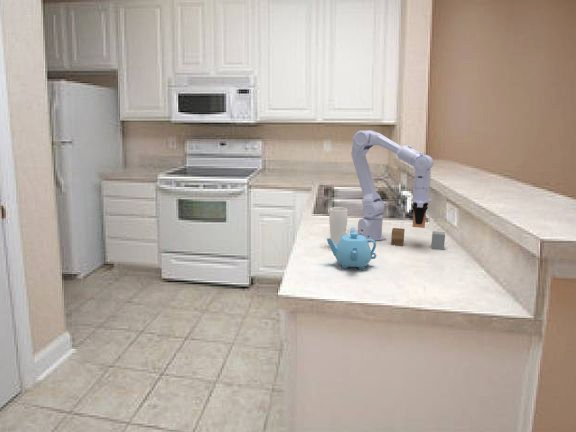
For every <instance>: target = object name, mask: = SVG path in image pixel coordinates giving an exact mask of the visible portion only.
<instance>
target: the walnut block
mask: <svg viewBox="0 0 576 432" xmlns="http://www.w3.org/2000/svg"><path fill="white" fill-rule="evenodd" d="M390 238H391V240H390V242H391V243H390V246H394V245H395V246H396V247H403V246H404V243H405V242H404V241H405V228H401V227H400V228H399V227H398V228H397V227H392V229H391V237H390Z"/></svg>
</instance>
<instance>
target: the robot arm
mask: <svg viewBox="0 0 576 432" xmlns="http://www.w3.org/2000/svg"><path fill="white" fill-rule="evenodd" d="M351 139H352V141H351V142H352V147H351V152H350V153H351V155H350V156H351V158H352V162H353V166H354V168H355V171H356V172H355V173H356V175H357V179H358V181H359V185H360V189H361V192H362V195H363V197H362V200H361V201H362V202H361V203H362V214H363V215H364V217H363V218H360V219H359V220H358V223H357V233H358V235H362V236H364V237H365V238H366V239H372V240H374V241H375V242H377V241H383V240H384V241H385V240H387V238H386V237H384V236H382V235H383V219H384V218H383V216H384V215H383V213H384V212H386V204H385V202H384V201H383V200H382V197H381V195H380V194H379V193H378V192H377V189H376V186H375V183H374V179H373V177H372V172H371V170H370V169H371V168H370V167H369V163H368V159H367V156H366V155H367V154H368V152H369V151H370V149H371V148H372V147H374V146H380V147H383V148H385V149H386V150H388V151H390V152H393V153H395V154H396V155H397V159H398V160H401V161H402V162H404V163H406V164H408V165H410V166H411V167H413V168H414V181H413V192H412V193H413V194H412V199H411V201H412V202H413V203H412V205H411V207H412V210H413V212H414V213H415V221H416V224H422V222H423V218H424V214H425V212H426V213H427V210H428V205H429V202H431V203H432V202H433V199H431V198H430V187H431V177H432V176H431V172H432V168H433V166H434V160H433V158H432V156H430V155H429V154H424V152H422V151H418V150H416V149H414V148H413V146H412V145H410V144H409V145H407V144H405V145H400V144H398V143H397V142H395V141H394V140H392V139H389V138H388V137H387V136H385V135H383V134H382V133H380V132H377V131H374V130H372V129H368V130H358V131H357V132H356V133H355V134H354V135H353V137H352V138H351ZM369 242H371V241H369ZM369 242H368V243H369Z"/></svg>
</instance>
